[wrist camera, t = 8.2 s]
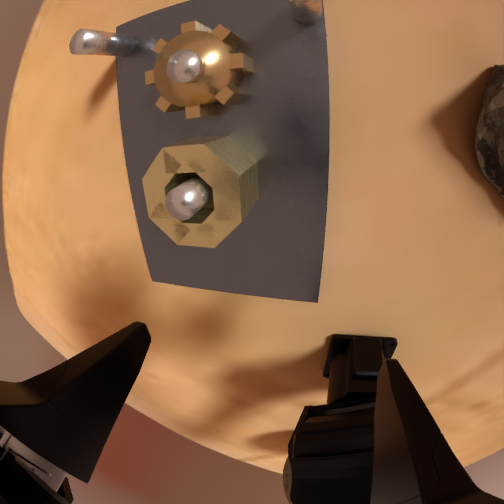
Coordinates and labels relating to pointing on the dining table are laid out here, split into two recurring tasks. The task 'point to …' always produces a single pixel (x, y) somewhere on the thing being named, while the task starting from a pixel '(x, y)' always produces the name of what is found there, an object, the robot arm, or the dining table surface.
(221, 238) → the hollow octagonal tube
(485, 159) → the grey rock
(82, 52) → the carrier
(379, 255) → the dining table surface
